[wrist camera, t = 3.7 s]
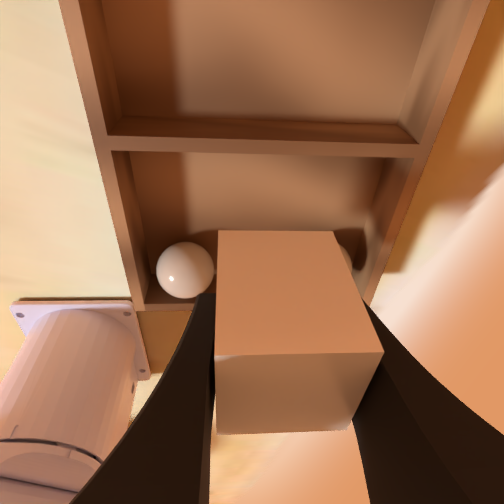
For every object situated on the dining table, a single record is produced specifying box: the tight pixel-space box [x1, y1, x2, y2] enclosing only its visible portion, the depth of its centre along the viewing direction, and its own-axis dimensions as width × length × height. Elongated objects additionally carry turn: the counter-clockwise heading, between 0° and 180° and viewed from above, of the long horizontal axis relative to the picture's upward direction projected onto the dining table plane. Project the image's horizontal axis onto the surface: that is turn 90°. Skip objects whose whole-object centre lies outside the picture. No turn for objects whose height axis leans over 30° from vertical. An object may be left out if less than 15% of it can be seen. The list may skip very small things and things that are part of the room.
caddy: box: [59, 0, 490, 311], centre depth 15 cm, size 20×14×3 cm
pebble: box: [156, 242, 214, 299], centre depth 19 cm, size 3×3×3 cm
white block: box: [214, 230, 384, 435], centre depth 11 cm, size 4×4×5 cm
